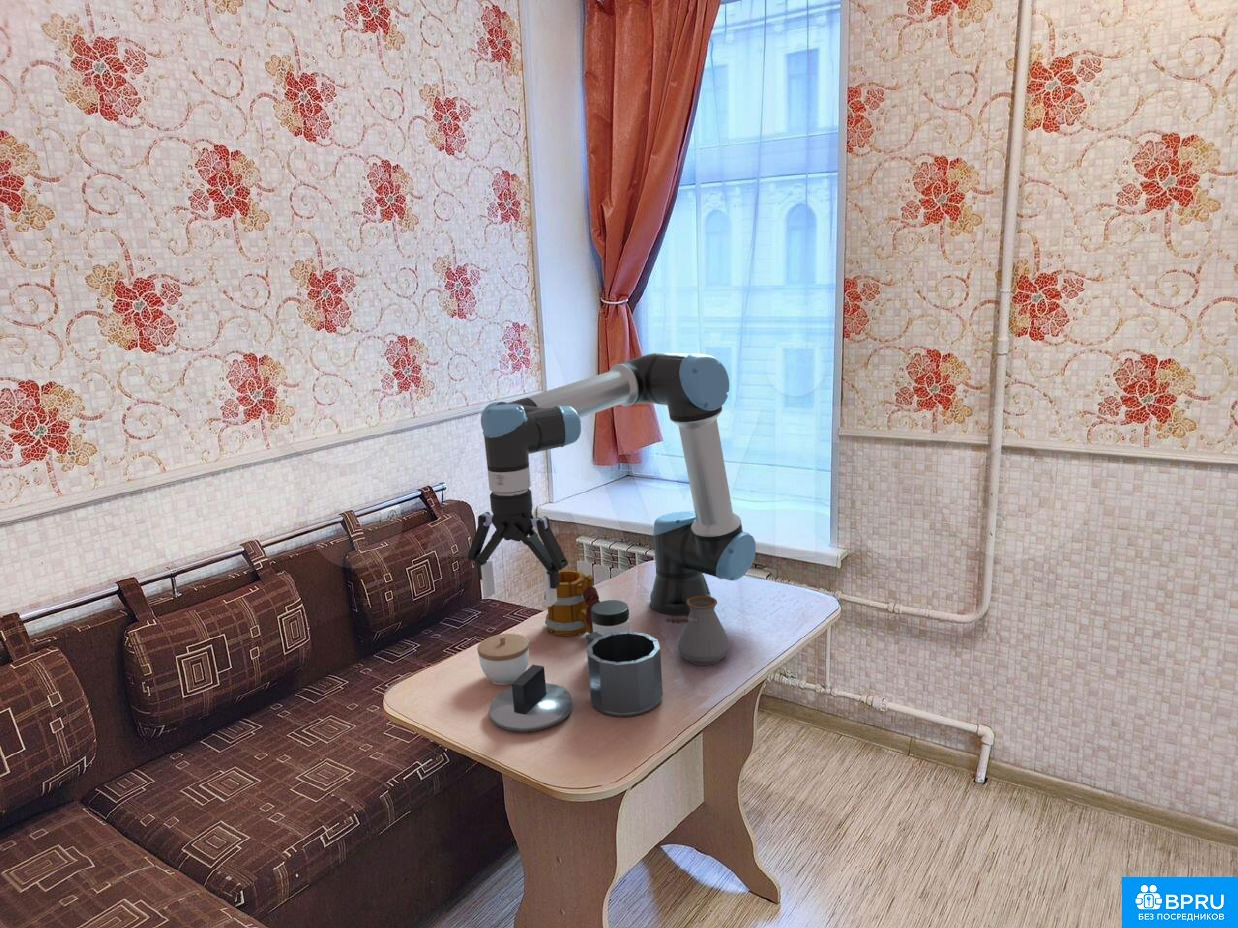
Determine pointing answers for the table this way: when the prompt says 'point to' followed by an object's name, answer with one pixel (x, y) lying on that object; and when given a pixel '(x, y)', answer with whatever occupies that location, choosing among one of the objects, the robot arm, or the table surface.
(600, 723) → the table surface
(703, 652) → the coffee pot
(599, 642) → the pot
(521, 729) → the lid
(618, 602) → the jar
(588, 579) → the mug
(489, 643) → the lidded jar
